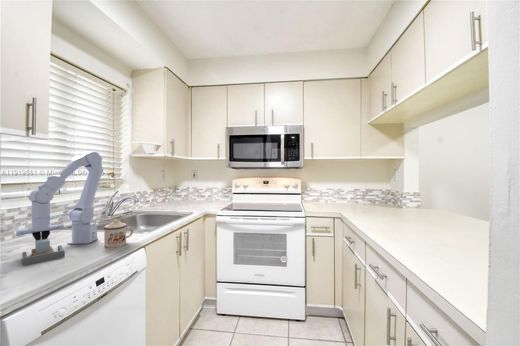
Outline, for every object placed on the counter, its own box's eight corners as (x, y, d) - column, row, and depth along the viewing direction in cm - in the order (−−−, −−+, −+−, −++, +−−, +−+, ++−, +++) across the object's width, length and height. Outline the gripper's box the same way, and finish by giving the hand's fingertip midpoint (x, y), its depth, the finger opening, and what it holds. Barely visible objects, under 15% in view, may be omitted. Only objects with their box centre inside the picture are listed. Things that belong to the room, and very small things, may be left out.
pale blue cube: (35, 250, 93) (35, 240, 93) (48, 247, 96) (48, 238, 96) (36, 252, 90) (36, 242, 90) (49, 250, 93) (49, 240, 93)
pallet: (31, 254, 94) (31, 249, 94) (51, 250, 99) (51, 245, 99) (32, 259, 88) (32, 254, 88) (53, 255, 93) (53, 250, 93)
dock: (22, 258, 89) (22, 252, 89) (61, 251, 98) (61, 245, 98) (23, 265, 83) (23, 258, 83) (64, 256, 92) (64, 250, 92)
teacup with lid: (105, 249, 100) (105, 223, 100) (102, 244, 107) (101, 219, 107) (135, 243, 109) (135, 219, 109) (130, 239, 115) (130, 216, 115)
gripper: (62, 213, 105) (62, 243, 105) (16, 218, 95) (16, 251, 95) (64, 215, 100) (64, 246, 101) (16, 221, 90) (16, 255, 90)
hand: (41, 249), depth 97 cm, fingers closed, pressing on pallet
